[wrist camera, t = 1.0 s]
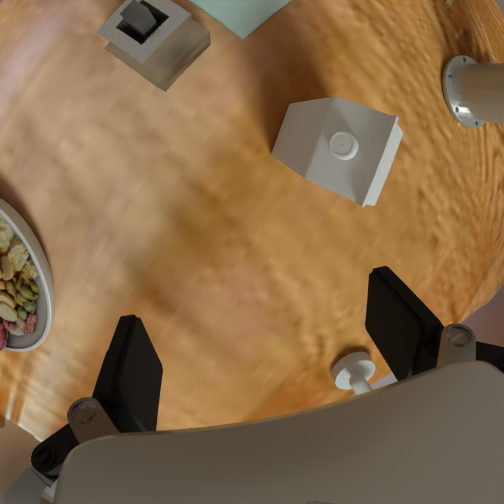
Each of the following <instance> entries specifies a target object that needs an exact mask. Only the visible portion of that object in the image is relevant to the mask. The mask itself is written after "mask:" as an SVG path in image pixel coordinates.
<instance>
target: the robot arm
mask: <svg viewBox="0 0 504 504" xmlns="http://www.w3.org/2000/svg"><path fill="white" fill-rule="evenodd" d="M442 83H443V92H444V96H445V100H446V103H447V105H448V108H449V109H450V111H451V113H452V115H453V116H454V117H455V119H456V120H457V121H458V122H459V123H461V124H462V125H464V126H466V127H470V128H478V127H481V126H482V125H483V124H485V122H486V121H488V122H493V123H499V124H504V63H495V62H494V61H493V60H489V62H488V63H477V62H476V61H475V60H473V59H472V58H470V57H468V56H465V55H458V56H454V57H452V58H450V60H449V61H448V62H447V63H446V65H445V68H444V71H443V78H442ZM365 326H366V330H367V332H368V334H369V335H370V337H371V338H372V340H373V342H374V343H375V345H376V346H377V348H378V349H379V351H380V353H381V354H382V356H383V358H384V359H385V361H386V362H387V364H388V366H389V367H390V369H391V371H392V372H393V374H394V375H395V377H396V379H397V380H398V382H395V383H392V384H389V385H386V386H384V387H381V388H378V389H375V390H372V391H369V392H366V393H363V394H359V395H356V396H353V397H350V398H346V399H343V400H339V401H336V402H332V403H328V404H325V405H321V406H317V407H313V408H309V409H305V410H301V411H296V412H292V413H287V414H283V415H278V416H273V417H268V418H262V419H257V420H251V421H245V422H238V423H232V424H224V425H217V426H208V427H199V428H188V429H177V430H164V431H156V425H157V415H158V406H159V398H160V389H161V381H162V374H163V368H162V364H161V362H160V360H159V358H158V355H157V353H156V351H155V349H154V347H153V345H152V343H151V341H150V338H149V336H148V334H147V332H146V329H145V327H144V325H143V323H142V320H141V319H140V318H139V317H138V318H137V317H136V316H135V315H127V316H121V317H120V319H119V322H118V325H117V327H116V330H115V333H114V335H113V338H112V341H111V344H110V347H109V349H108V351H107V353H106V355H105V358H104V361H103V364H102V367H101V370H100V373H99V376H98V379H97V382H96V385H95V389H94V392H93V395H92V397H84V398H80V399H78V400H76V401H75V402H74V403H73V404H72V405H71V406H70V408H69V410H68V412H67V419H68V422H69V423H68V424H67V425H65V426H64V427H63V428H61V429H60V430H58V431H57V432H56V433H54V434H53V435H51V436H50V437H49V438H47V439H46V440H44V441H43V442H41V443H40V444H39V445H38V446H37V447H36V448H35V449H34V450H33V452H32V456H31V462H32V466H31V467H29V466H27V467H26V468H25V469H24V470H23V472H22V473H21V474H20V475H19V476H18V478H17V479H16V480H15V481H14V483H13V484H12V485H11V487H10V488H9V489H8V490H7V492H6V493H5V495H4V499H3V503H4V504H504V347H500V346H496V345H491V344H486V343H482V342H478V341H476V337H475V334H474V332H473V331H472V330H471V329H470V328H469V327H467V326H465V325H463V324H458V323H454V324H449V325H447V326H446V327H444V326H443V325H442V324H441V322H440V320H439V319H438V318H437V317H436V316H435V315H434V314H433V313H432V312H431V311H430V310H429V308H428V307H427V306H426V305H425V304H424V303H423V302H422V301H421V300H420V299H419V298H418V297H417V296H416V295H415V294H414V293H413V292H412V291H411V290H410V289H409V288H408V287H407V285H406V284H405V283H404V282H403V281H402V280H401V279H400V278H399V277H398V276H397V275H396V274H395V273H394V272H393V271H392V270H391V269H390V268H389V267H387V266H383V267H378V268H374V269H373V271H372V273H370V274H369V283H368V298H367V310H366V321H365Z"/></svg>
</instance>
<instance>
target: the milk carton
mask: <svg viewBox="0 0 504 504" xmlns="http://www.w3.org/2000/svg"><path fill="white" fill-rule="evenodd" d="M398 119H399V117H398V116H392V115H387V114H385V113H382V112H380V111H377V110H374V109H372V108H369V107H366V106H363V105H360V104H357V103H354V102H351V101H348V100H345V99H342V98H339V97H328V98H321V99H315V100H308V101H302V102H297V103H291V104H289V106H288V109H287V112H286V114H285V117H284V120H283V123H282V125H281V128H280V131H279V134H278V136H277V139H276V142H275V145H274V148H273V150H272V154H271V155H272V156H273V157H275V158H276V159H278V160H279V161H281V162H282V163H284V164H285V165H286V166H288V167H289V168H291V169H292V170H294V171H295V172H296V173H298V174H299V175H301V176H302V177H304V178H305V179H307V180H309V181H311V182H314V183H316V184H318V185H320V186H322V187H325V188H327V189H329V190H331V191H333V192H336V193H338V194H340V195H342V196H344V197H346V198H348V199H350V200H352V201H355V202H357V203H358V204H359V205H361V206H363V207H365V205H366V204H367V205H373V206H375V204H376V201H377V199H378V197H379V194H380V192H381V190H382V187H383V185H384V182H385V180H386V177H387V175H388V172H389V170H390V167H391V164H392V162H393V159H394V157H395V154H396V151H397V149H398V146H399V143H400V140H401V138H402V135H403V132H402V130H401V129H400V128H399V126H398V125H397V122H398Z"/></svg>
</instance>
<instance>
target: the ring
mask: <svg viewBox="0 0 504 504" xmlns="http://www.w3.org/2000/svg"><path fill="white" fill-rule="evenodd" d="M132 1H133V0H126V1H125V2H124V3H123V4H122V5H121V6H120V7H119V8H118V9H117V10H116V11H115V12H114V13H113V14H112V15H111V16H110V17H109V19H108V20H107V21H106V22H105V23H104V24H103V25H102V26H101V28H100V29H99V30H98V31H97V32H96V33H98V34H99V35H101V36H102V37H104V38H105V39H107V40H108V41H110V42H111V43H113V44H114V45H116V46H117V47H119V48H120V49H122V50H123V51H124V52H126V53H127V54H129V55H130V56H131V57H133V58H134V59H136V60H137V61H138V62H140V63H141V64H143V65H144V66H145V67H147V68H148V69H150V70H151V71H152V72H154V73H155V74H156V73H157V72H158V71H159V70H160V69H161V67H162V66H163V65H164V64H165V63H166V62H167V61H168V60H169V59H170V58H171V57H172V56H173V55H174V54H175V53H176V52H177V50H178V49H179V48H180V47H181V46H182V45H183V44H184V43H185V42H186V41H187V40H188V39H189V38H191V37H192V36H193V35H194V34H195V33H196V31H195V27H194V23H193V18H192V14H191V13H189V12H188V11H186V10H185V9H183V8H182V7H180V6H179V5H177V4H176V3H174V2H172V1H171V0H136V1H137V2H139V3H141V4H142V5H144V6H145V7H147V8H148V9H149V11H150V12H151V14H152V15H153V17H154V19H156V20H158V21H159V22H161V23H162V25H161V26H160V27H159V28H158V29H157V30H156V31H155V32H154V33H153V34H152V35H151V36H150V37H149V38H148V39H147V40H146V41H145V42H144V43H143V44H142V45H141V44H140V43H138V42H137V41H135V39H136V38H137V37H138V36H139V34H138V33H137V31H136V30H135V29H134V28H133V27H132V26H131V25H130V24H129V23H128V22H127V21H126V20H125V19H124V18H123V17H122V16H121V15H120V13H121V12H122V11H123V10H124V9H125V8H126V7H127V6H128V5H129V4H130V3H131V2H132Z"/></svg>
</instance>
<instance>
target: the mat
mask: <svg viewBox="0 0 504 504" xmlns="http://www.w3.org/2000/svg"><path fill="white" fill-rule="evenodd" d="M187 1H189V2H191V3H192V4H194V5H195V6H197V7H198V8H199V9H201V10H202V11H204V12H205V13H207V14H208V15H210V16H211V17H212V18H214V19H215V20H217V21H218V22H219V23H221V24H222V25H223V26H225V27H226V28H227V29H229V30H230V31H231V32H233V33H234V34H235V35H236V36H238V37H239V38H240V39H241V40H244V39H245V38H246V37H247V36H248V35H250V34H251V33H252V32H253V31H254V30H255V29H256V28H258V27H259V26H260V25H261V24H262V23H264V22H265V21H266V20H267V19H268V18H270V17H271V16H272V15H273V14H275V13H276V12H277V11H278V10H280V9H281V8H282V7H283V6H285V5H286V4H287V3H289V2H290V1H291V0H187Z"/></svg>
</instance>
